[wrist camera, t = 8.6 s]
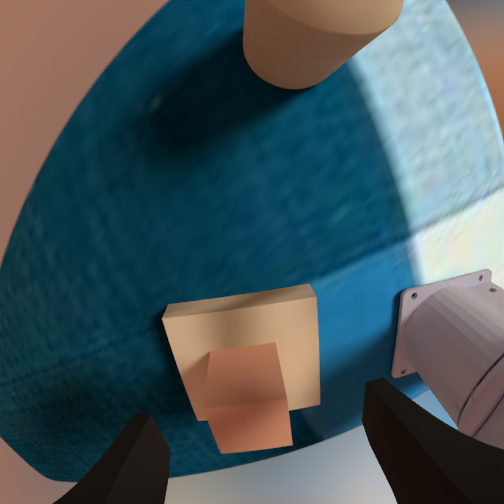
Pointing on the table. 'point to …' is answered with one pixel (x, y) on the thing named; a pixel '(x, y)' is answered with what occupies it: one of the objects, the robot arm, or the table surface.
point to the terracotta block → (247, 399)
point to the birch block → (249, 338)
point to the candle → (310, 36)
